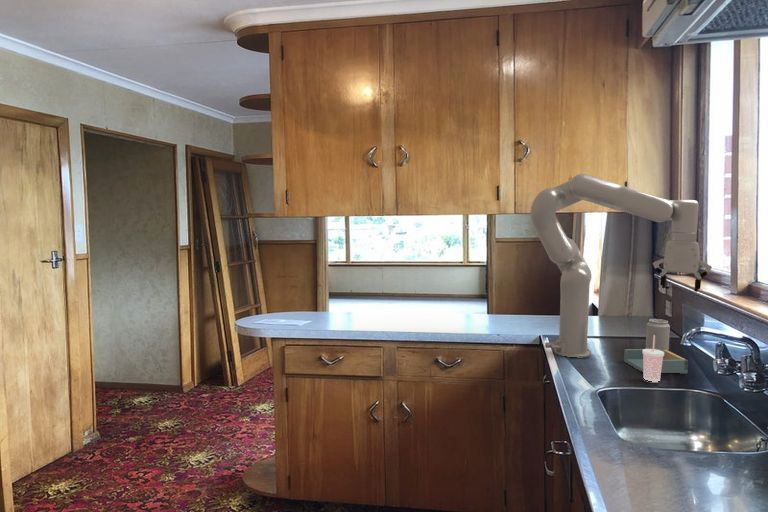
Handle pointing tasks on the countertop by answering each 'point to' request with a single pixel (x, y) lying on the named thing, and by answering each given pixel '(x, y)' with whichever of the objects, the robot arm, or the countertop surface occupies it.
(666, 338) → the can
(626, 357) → the tray
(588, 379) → the countertop surface
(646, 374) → the beverage cup
